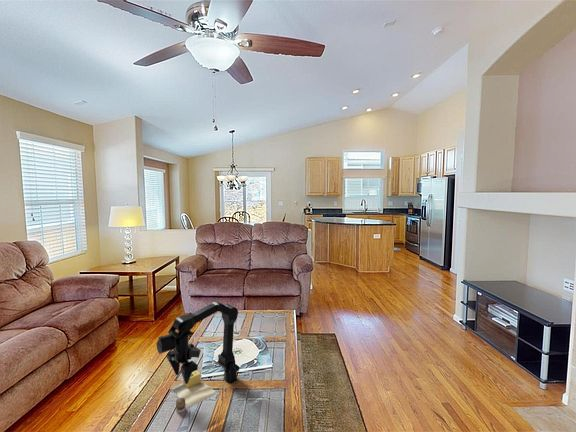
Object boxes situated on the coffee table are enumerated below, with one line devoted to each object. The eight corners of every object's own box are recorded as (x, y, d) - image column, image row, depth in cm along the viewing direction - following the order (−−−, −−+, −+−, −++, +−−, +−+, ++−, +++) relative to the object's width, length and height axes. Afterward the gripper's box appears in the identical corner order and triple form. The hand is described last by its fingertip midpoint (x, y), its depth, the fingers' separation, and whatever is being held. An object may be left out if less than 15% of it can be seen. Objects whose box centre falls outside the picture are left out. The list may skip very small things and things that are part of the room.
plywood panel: (216, 394, 150) (216, 393, 150) (189, 409, 140) (189, 407, 140) (195, 376, 164) (195, 375, 164) (169, 388, 154) (169, 387, 154)
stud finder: (200, 382, 158) (200, 373, 158) (187, 388, 153) (187, 378, 153) (196, 378, 161) (196, 369, 161) (183, 383, 157) (183, 374, 156)
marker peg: (186, 411, 138) (186, 400, 138) (178, 415, 136) (178, 404, 135) (182, 407, 141) (182, 396, 141) (174, 411, 138) (174, 400, 138)
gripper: (208, 347, 140) (208, 381, 141) (188, 333, 153) (188, 364, 154) (185, 356, 132) (185, 391, 133) (166, 340, 145) (166, 373, 146)
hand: (181, 379), depth 142 cm, fingers open, 9 cm apart
